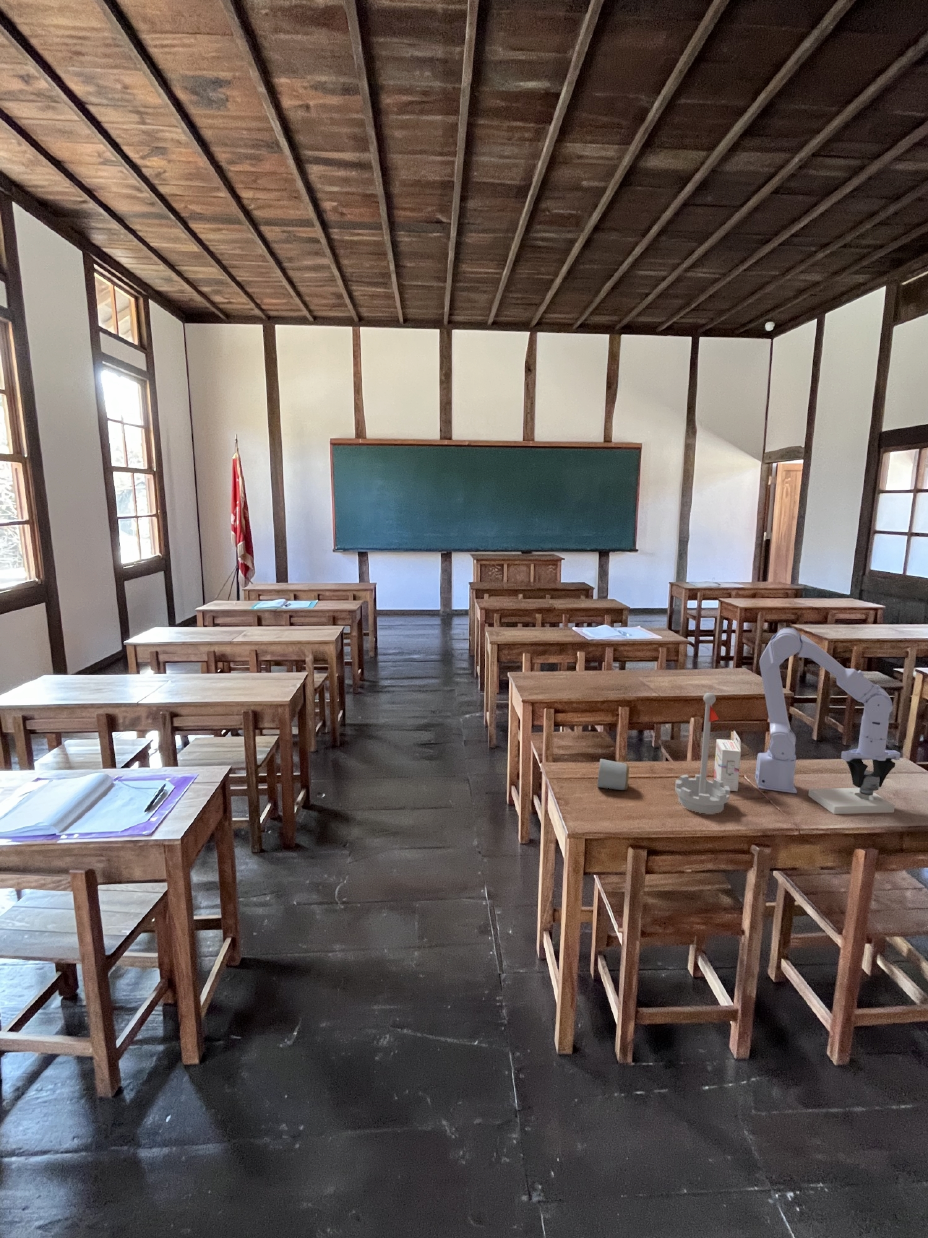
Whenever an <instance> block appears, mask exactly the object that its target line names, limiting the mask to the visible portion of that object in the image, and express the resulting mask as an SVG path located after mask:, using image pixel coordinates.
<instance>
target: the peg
mask: <svg viewBox="0 0 928 1238" xmlns="http://www.w3.org/2000/svg"><path fill="white" fill-rule="evenodd" d="M879 782H880V775H879V774H878V773H875V772H873V770H868V769H866V770H865V773H864V776H863V781H862V786H861V788H860V789H859V792H860V793H862V794H864V795H873V792H874V791H879V790H880V787H879Z"/></svg>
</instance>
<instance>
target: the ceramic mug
mask: <svg viewBox="0 0 928 1238" xmlns="http://www.w3.org/2000/svg"><path fill="white" fill-rule="evenodd" d="M597 776H598V777H597V782H596V783H597V784H596V786H597V788H603V789H608V788H609V789H610V790H618V791H625V790H627V789H628V786H629V777H630V766H629V765H628V764H626V763H624V762H620V761H613V760H608V759H604V758H600V759H599V767H598V775H597ZM609 789H608V790H609Z"/></svg>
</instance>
